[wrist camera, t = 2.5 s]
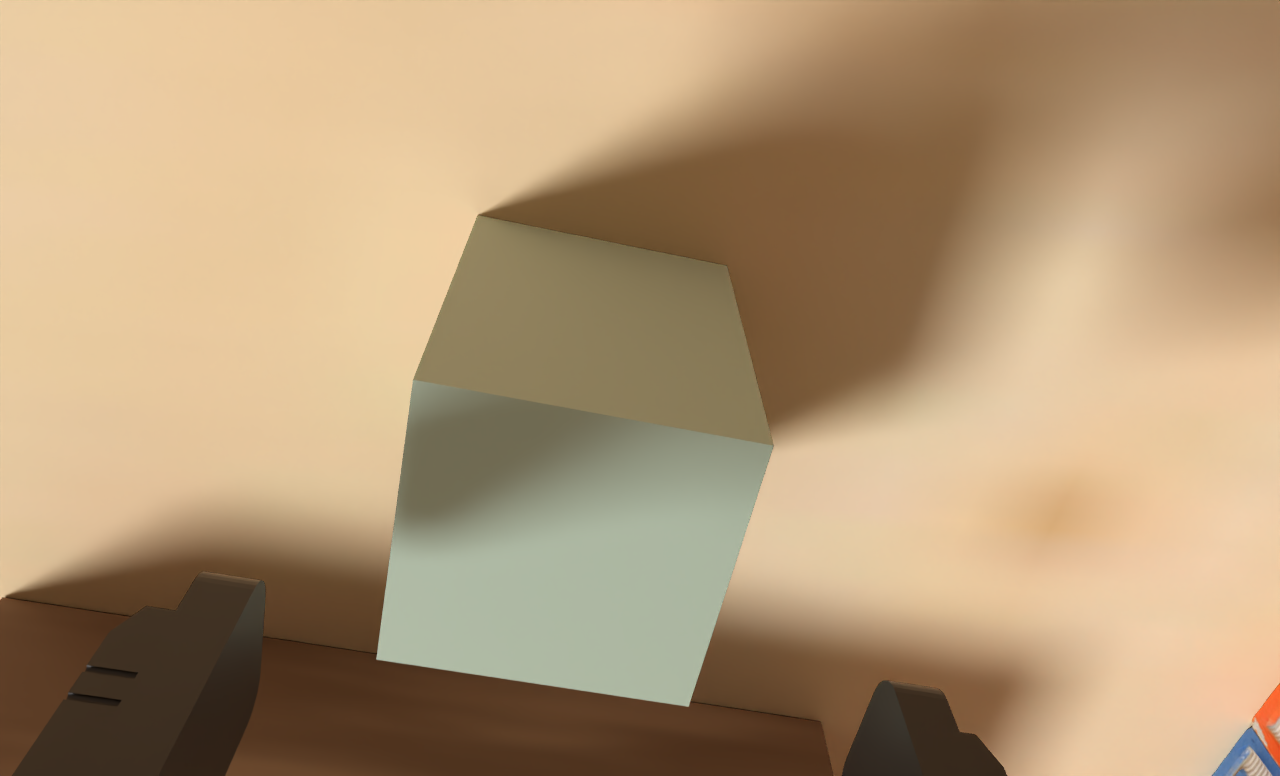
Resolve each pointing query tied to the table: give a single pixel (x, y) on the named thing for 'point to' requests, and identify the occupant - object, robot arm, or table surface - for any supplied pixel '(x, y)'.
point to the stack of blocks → (1257, 744)
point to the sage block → (574, 467)
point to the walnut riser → (413, 716)
